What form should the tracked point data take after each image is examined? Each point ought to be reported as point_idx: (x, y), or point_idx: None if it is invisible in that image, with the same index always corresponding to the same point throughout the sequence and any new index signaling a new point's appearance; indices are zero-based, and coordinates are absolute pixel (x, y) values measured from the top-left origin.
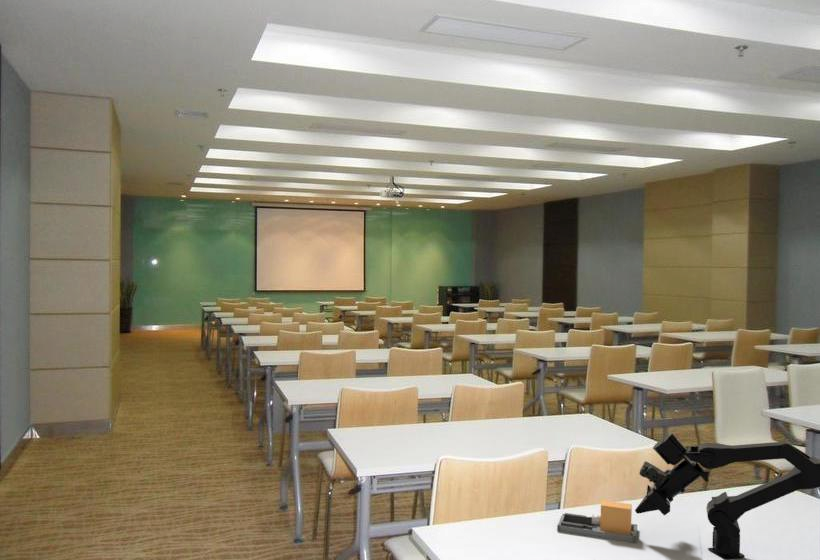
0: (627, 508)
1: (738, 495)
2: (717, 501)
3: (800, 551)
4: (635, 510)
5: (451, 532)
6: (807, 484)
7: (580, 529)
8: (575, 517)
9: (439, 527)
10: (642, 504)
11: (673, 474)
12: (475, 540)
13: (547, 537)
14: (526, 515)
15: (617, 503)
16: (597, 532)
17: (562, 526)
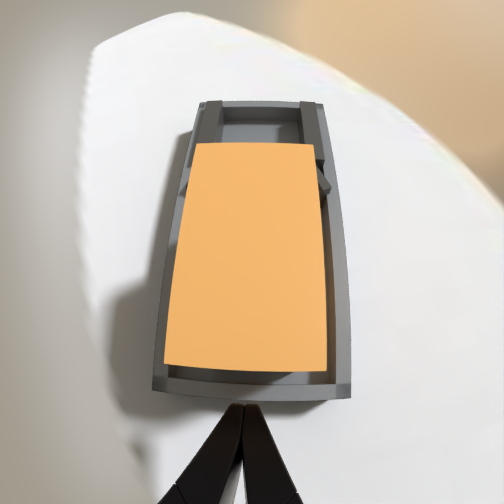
0: (175, 333)
1: None
2: None
3: None
4: (229, 406)
5: (172, 27)
6: None
7: (186, 159)
8: (302, 132)
9: (190, 17)
10: (179, 481)
11: None
12: (141, 48)
13: (180, 112)
14: (323, 68)
15: (289, 243)
16: (174, 217)
17: (197, 113)
